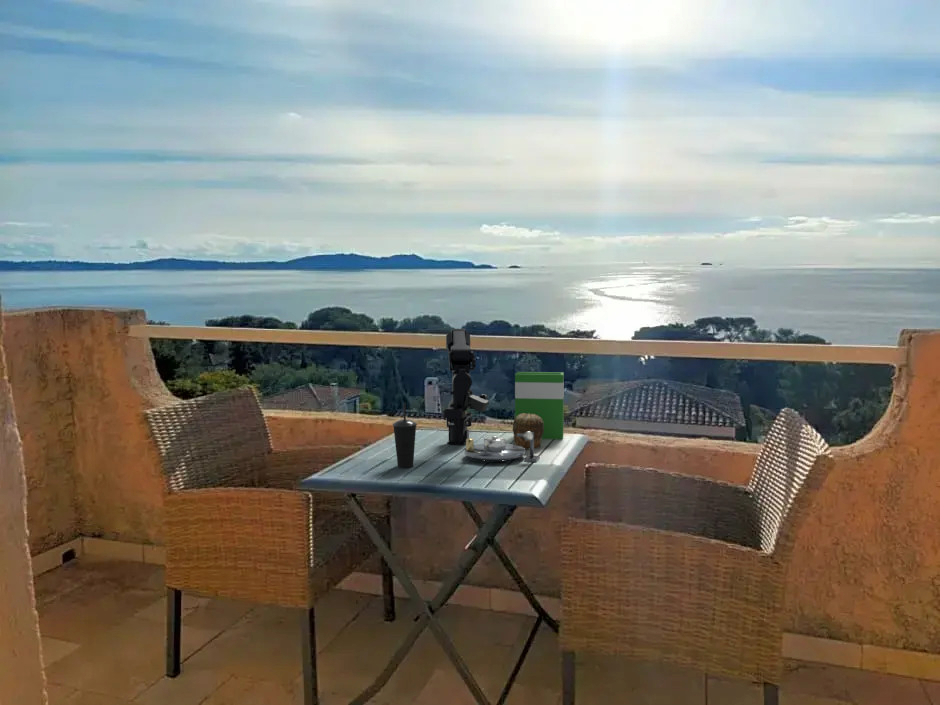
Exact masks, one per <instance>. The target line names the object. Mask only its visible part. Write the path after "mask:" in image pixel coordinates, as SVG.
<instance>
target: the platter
mask: <svg viewBox="0 0 940 705" xmlns="http://www.w3.org/2000/svg"><path fill="white" fill-rule="evenodd" d="M465 446H466V447H465V448H464V450H463V452H464V455H465V456H466V457H468V458H472V459H475V460H476V459H477V460H478V459H481V460H509V459H511V460H514V459H515V460H516V459H519V458H522V457H523V456H525V455H526V449H524V448H523V447H521V446H517V445H515V444H513V443H505V451H501V452H488V451H485V450H484V443H479V444H474V438H472V437H471V438H470V437H469V439H466V444H465ZM481 460H480V461H481ZM509 461H510V460H509Z"/></svg>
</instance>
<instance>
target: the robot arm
mask: <svg viewBox="0 0 940 705" xmlns="http://www.w3.org/2000/svg"><path fill="white" fill-rule="evenodd" d="M445 349H446V350H447V353H448V354H447V355H448V366H449V367H448V368H449V369H448V370H449V371H452V373H451V390H450V391H449V393H450V395H451V396H452V397H451V399H450V401H449V402H448V407H447V408H445V409H444V410H443V411H442V418H444V419H445V420H446V421H445V423H446V428H448V441H447V442H446V444H447V445H448V444H449V445H466V439H469V438H470V430H469V429H468V428H470V427H472V415H474V412H471V411H470V410H474V411H478V412H479V413H483V412H484V411H486V409H487V408H488V406H489V401H490V400H489V399H488V395H487V394H484V393H482V394H480V395H475V394H474V391H473V389H471V387H472V384H473V381H472V377H471V372H470V371H474V370H475V368H476V355H475V352H474V351H472V349H471V334H469V333H468V332H467V329H466V328H452V329H451V331H450V332H449V333H447V334H445Z"/></svg>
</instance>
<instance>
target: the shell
mask: <svg viewBox="0 0 940 705" xmlns="http://www.w3.org/2000/svg"><path fill="white" fill-rule="evenodd" d="M527 431H530V432H533V433H534V448H535V449H538V448H541V443H542V439H541V438H542V435H543V433H544V423H543V420H542V419H541V417H539V416H538V415H535V414H529V413H528V414H525V413H522V414H520V415H518V416H517V417H516V418H515V417H514V420H513V424H512V433H513V440H514V441H513V442H514V445H517V446H521V447H523V448H525V450H530V441H526V440H525V439H524V437H519V436H517V434H524V433H525V432H527Z"/></svg>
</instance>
